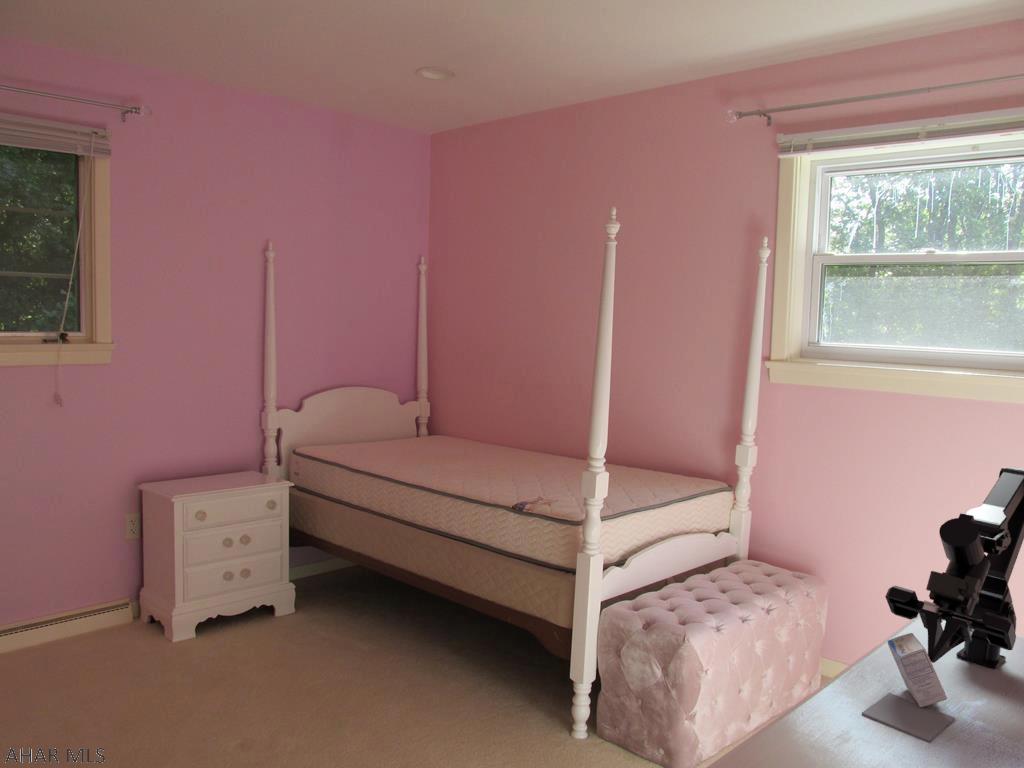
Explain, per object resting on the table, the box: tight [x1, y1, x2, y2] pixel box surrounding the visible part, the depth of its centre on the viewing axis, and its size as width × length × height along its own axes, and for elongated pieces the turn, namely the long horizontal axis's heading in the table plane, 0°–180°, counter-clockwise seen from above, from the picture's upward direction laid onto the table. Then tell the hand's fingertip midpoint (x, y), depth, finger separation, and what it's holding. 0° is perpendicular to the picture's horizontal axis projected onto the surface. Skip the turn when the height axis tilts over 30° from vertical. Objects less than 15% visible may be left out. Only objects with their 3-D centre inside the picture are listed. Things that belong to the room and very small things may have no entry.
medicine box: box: [887, 632, 948, 707], centre depth 134 cm, size 8×4×9 cm, turn 169°
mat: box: [861, 692, 956, 743], centre depth 128 cm, size 10×10×1 cm
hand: (930, 660), depth 132 cm, fingers closed
